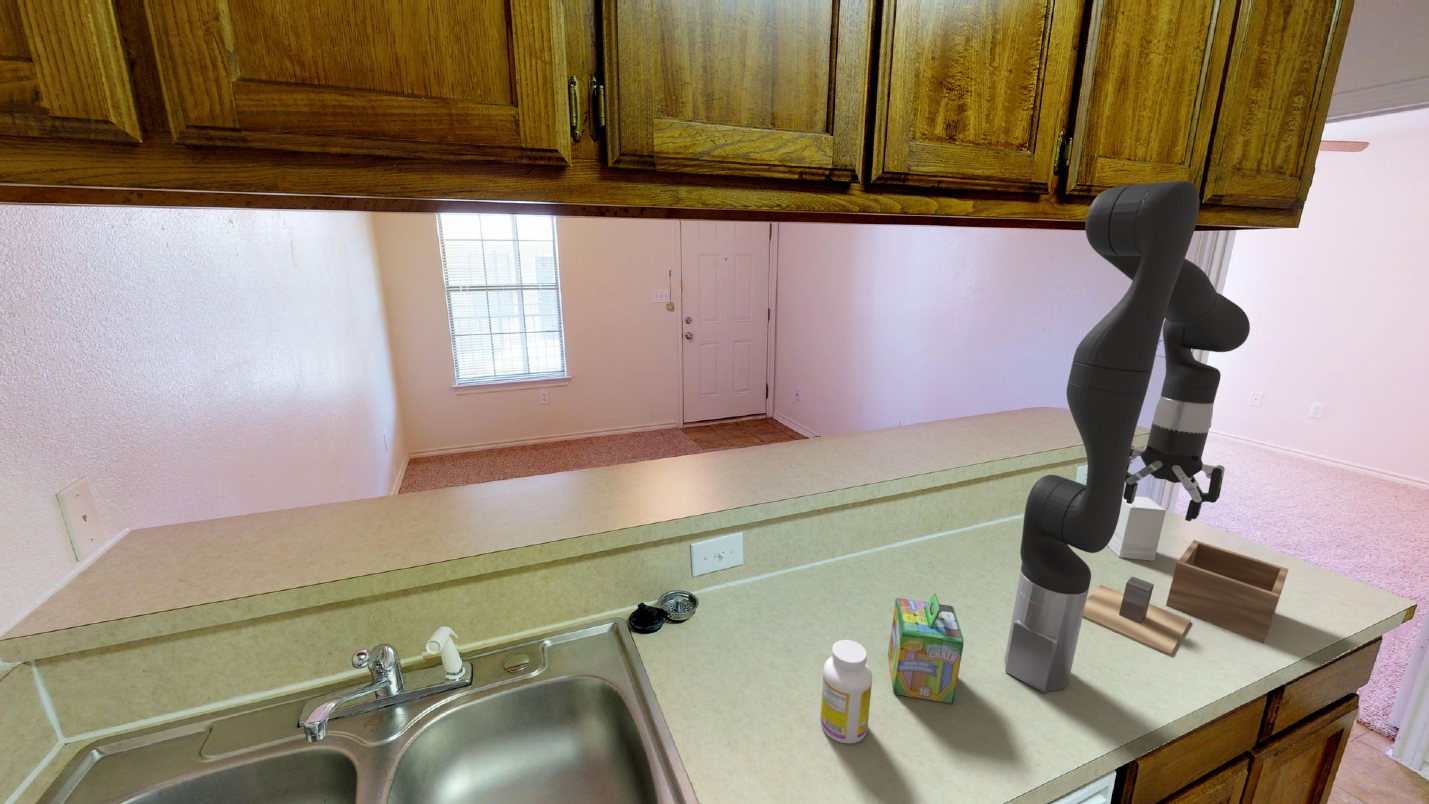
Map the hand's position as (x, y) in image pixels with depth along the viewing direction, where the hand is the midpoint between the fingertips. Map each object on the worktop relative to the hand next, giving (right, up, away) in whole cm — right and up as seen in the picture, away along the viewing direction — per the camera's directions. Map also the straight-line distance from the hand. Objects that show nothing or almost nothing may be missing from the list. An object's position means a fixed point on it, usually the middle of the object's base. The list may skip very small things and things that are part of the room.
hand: (1158, 511), depth 99 cm
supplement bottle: (-61, -27, -19) cm, 70 cm away
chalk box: (-47, -25, -10) cm, 54 cm away
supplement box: (+17, -15, +30) cm, 37 cm away
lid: (0, -22, +6) cm, 23 cm away
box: (+19, -21, +9) cm, 30 cm away
